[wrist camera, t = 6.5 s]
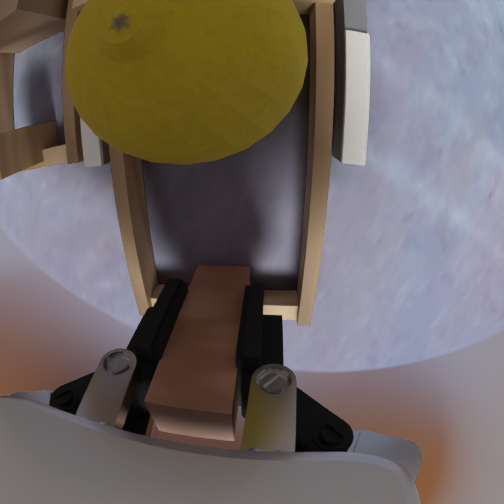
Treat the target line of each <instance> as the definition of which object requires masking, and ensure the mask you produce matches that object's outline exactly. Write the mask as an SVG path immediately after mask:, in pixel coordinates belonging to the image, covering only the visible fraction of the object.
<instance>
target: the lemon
mask: <svg viewBox="0 0 504 504" xmlns="http://www.w3.org/2000/svg"><path fill="white" fill-rule="evenodd" d="M307 64H308V52H307V39H306V31H305V28H304V25H303V23H302V20H301V18H300V16H299V13H298V11H297V9H296V6H295V4H294V2H293V1H292V0H88V1H87V2H86V4H85V5H84V7H83V9H82V10H81V12H80V14H79V15H78V17H77V19H76V21H75V22H74V25H73V28H72V31H71V34H70V37H69V40H68V43H67V51H66V62H65V75H66V81H67V87H68V93H69V95H70V97H71V99H72V102H73V104H74V106H75V108H76V110H77V112H78V114H79V116H80V117H81V119H82V120H83V121H84V122H85V123H86V124H87V126H88V127H89V128H90V129H91V130H92V131H93V133H94V134H95V135H96V136H97V137H99V138H100V139H102V140H103V141H105V142H106V143H108V144H109V145H111V146H112V147H114V148H115V149H117V150H119V151H120V152H122V153H125V154H128V155H131V156H134V157H137V158H140V159H143V160H146V161H150V162H155V163H167V164H179V165H190V164H197V163H203V162H210V161H217V160H220V159H223V158H225V157H228V156H230V155H233V154H235V153H238V152H240V151H243V150H246V149H247V148H249V147H250V146H252V145H253V144H255V143H256V142H258V141H259V140H261V139H262V138H264V137H265V136H266V135H268V134H269V133H271V132H272V130H273V129H274V128H275V127H276V126H277V125H278V124H279V123H280V122H281V121H282V120H283V118H284V117H285V116H286V115H287V114H288V113H289V112H290V110H291V108H292V106H293V104H294V102H295V100H296V98H297V97H298V95H299V93H300V91H301V89H302V86H303V82H304V77H305V73H306V68H307Z"/></svg>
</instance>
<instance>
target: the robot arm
mask: <svg viewBox="0 0 504 504" xmlns="http://www.w3.org/2000/svg"><path fill="white" fill-rule="evenodd" d="M187 293H188V285H187V283H186V282H183V279H179V278H169V279H168V280H167V282H166V284H165V285H164V287H163V289H162V291H161V293H160V295H159V297H158V299H157V301H156V302H155V304H154V306H153V307H149V308H148V309H147V310H146V312H145V314H144V316H143V318H142V320H141V321H140V323H139V325H138V327H137V329H136V331H135V333H134V335H133V337H132V339H131V341H130V343H129V345H128V347H127V349H114V350H111V351H109V352H108V353H106V354H105V355H104V356H103V357H102V359H101V360H100V362H99V364H98V367H97V369H96V371H95V372H93V373H91V374H88V375H86V376H84V377H81V378H79V379H77V380H74V381H72V382H70V383H67V384H65V385H62V386H60V387H59V388H57V389H56V390H55V391H54V392H53V393H52V392H51V390H47V391H30V392H16V393H13V394H11V395H3V396H0V504H420V500H419V496H418V492H417V489H416V486H415V483H416V479H417V475H418V471H419V466H420V462H421V451H420V448H419V447H418V446H417V445H416V444H415V443H414V442H411V441H408V440H404V439H398V438H394V437H390V436H386V435H382V434H378V433H374V432H370V431H366V430H361V432H360V431H356V430H353V429H351V427H350V426H349V425H348V424H347V423H346V422H345V421H344V420H342V419H341V418H339V417H338V416H336V415H335V414H333V413H332V412H331V411H329V410H328V409H326V408H325V407H323V406H322V405H321V404H319V403H318V402H317V401H315V400H314V399H312V398H311V397H310V396H308V395H307V394H305V393H304V392H303V391H302V390H300V389H299V388H297V387H296V377H295V375H294V373H293V371H291V370H290V369H289V368H288V367H286V366H283V327H282V315H264V314H263V305H264V282H251V284H250V285H245V291H244V298H243V305H242V312H241V319H240V326H239V332H238V339H237V346H236V357H235V362H236V368H237V371H238V390H239V404H238V406H241V407H242V416H243V417H244V418H245V424H244V431H243V437H242V444H241V450H233V449H222V448H213V447H205V446H198V445H191V444H185V443H178V442H173V441H168V440H163V439H158V438H153V437H151V434H152V430H153V426H154V420H153V418H152V416H151V414H150V412H149V410H148V408H147V407H146V405H145V403H144V400H145V398H146V395H147V392H148V389H149V387H150V384H151V381H152V378H153V376H154V373H155V370H156V368H157V365H158V363H159V360H161V359H162V356H163V353H164V351H165V348H166V346H167V343H168V341H169V338H170V335H171V333H172V330H173V328H174V325H175V323H176V320H177V318H178V315H179V313H180V310H181V308H182V305H183V303H184V300H185V298H186V295H187Z"/></svg>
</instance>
